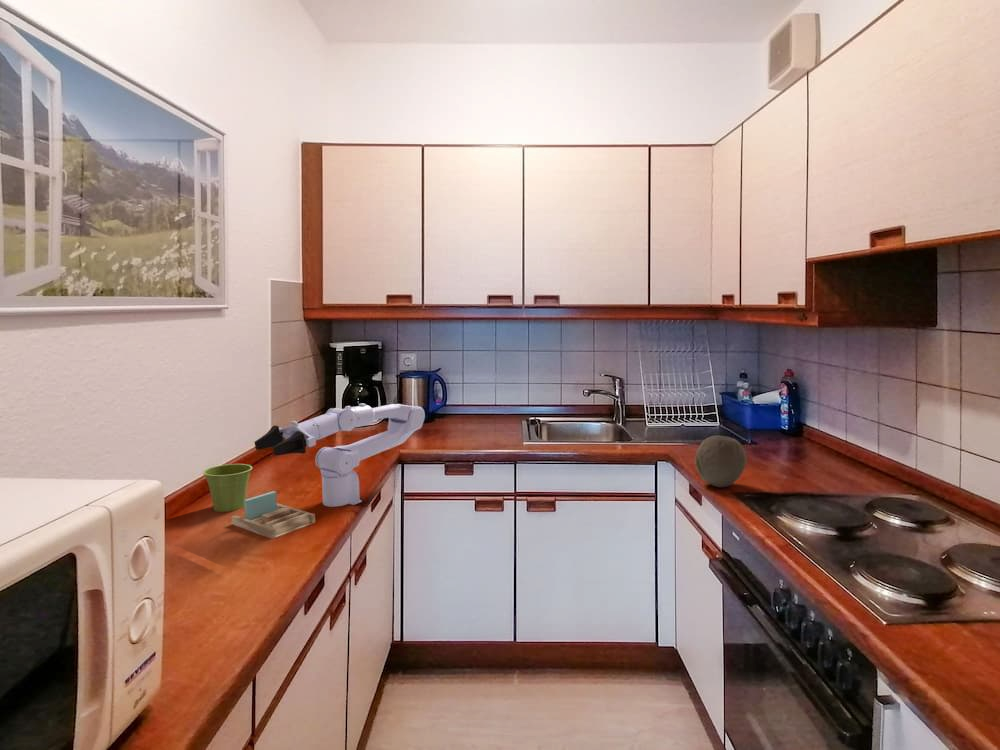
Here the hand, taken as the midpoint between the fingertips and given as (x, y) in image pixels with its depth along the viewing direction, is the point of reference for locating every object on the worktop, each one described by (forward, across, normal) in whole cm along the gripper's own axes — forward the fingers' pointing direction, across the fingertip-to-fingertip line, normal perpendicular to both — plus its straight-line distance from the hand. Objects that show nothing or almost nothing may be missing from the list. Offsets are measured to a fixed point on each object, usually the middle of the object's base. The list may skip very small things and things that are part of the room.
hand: (264, 448), depth 137 cm
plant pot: (+2, -19, +21) cm, 29 cm away
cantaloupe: (-94, +81, +32) cm, 128 cm away
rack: (+2, +1, +20) cm, 20 cm away
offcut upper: (+1, +2, +17) cm, 18 cm away
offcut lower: (+2, +2, +19) cm, 19 cm away
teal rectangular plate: (+2, -4, +19) cm, 19 cm away
